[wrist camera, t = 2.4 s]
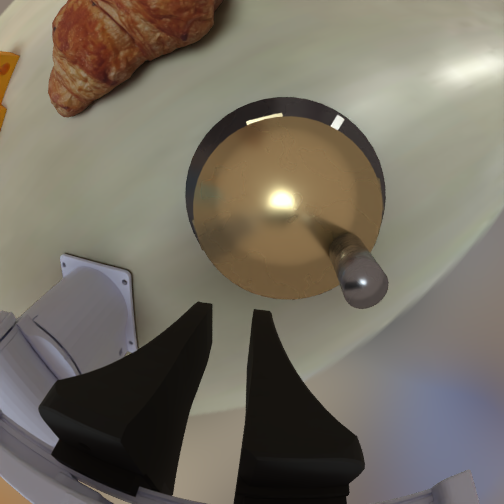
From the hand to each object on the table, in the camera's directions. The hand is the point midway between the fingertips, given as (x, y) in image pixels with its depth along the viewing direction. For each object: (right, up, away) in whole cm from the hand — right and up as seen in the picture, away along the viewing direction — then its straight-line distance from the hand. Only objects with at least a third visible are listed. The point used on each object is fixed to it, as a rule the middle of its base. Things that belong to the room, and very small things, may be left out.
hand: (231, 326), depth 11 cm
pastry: (-7, +21, +2) cm, 22 cm away
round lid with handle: (+3, +6, +6) cm, 9 cm away
